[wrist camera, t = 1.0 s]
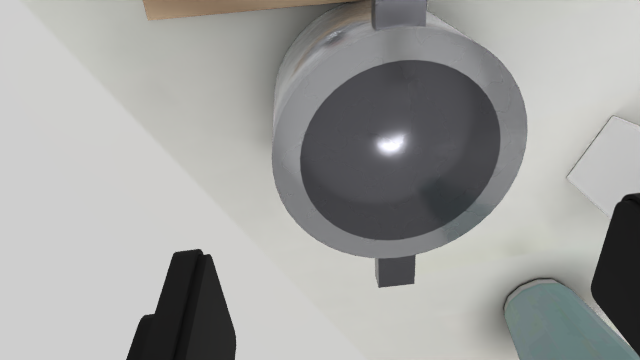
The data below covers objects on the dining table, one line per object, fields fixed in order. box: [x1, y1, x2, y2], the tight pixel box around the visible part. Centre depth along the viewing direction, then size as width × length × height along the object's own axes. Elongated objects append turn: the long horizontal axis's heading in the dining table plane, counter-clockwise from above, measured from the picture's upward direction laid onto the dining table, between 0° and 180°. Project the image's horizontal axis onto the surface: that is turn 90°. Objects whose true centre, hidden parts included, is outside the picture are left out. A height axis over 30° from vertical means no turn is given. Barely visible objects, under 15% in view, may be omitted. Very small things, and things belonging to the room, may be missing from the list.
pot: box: [272, 0, 527, 288], centre depth 28 cm, size 20×14×9 cm
